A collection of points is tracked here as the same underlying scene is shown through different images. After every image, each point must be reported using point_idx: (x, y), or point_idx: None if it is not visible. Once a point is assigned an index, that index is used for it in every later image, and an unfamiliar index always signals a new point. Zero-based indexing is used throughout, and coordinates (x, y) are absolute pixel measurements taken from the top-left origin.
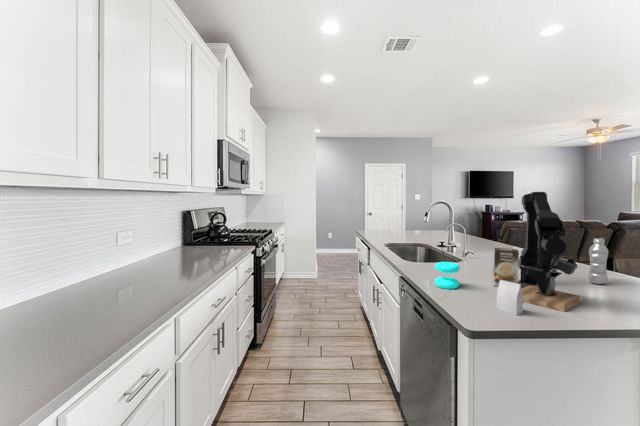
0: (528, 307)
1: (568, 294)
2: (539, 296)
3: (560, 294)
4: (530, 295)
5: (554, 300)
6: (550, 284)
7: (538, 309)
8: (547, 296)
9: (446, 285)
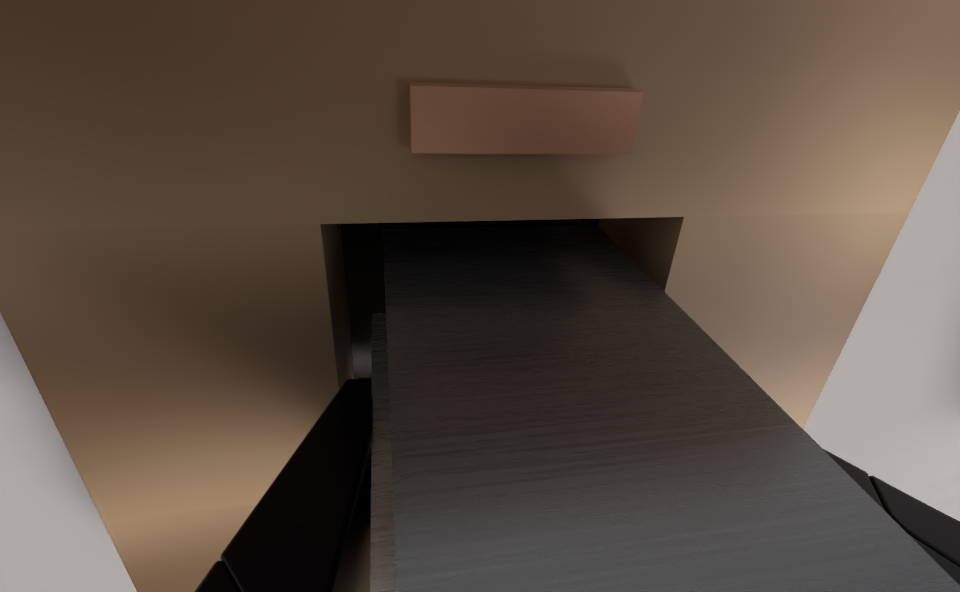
0: (899, 293)
1: (58, 13)
2: (798, 341)
3: (305, 169)
4: (801, 427)
5: (955, 70)
6: (809, 458)
7: (931, 193)
8: (717, 269)
9: None
